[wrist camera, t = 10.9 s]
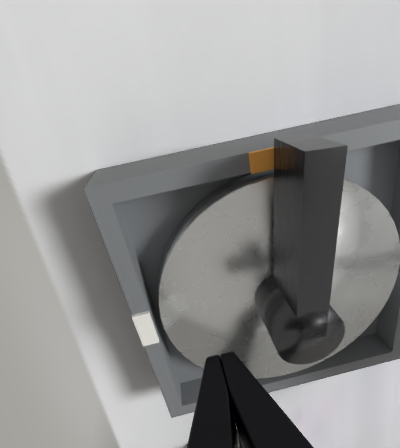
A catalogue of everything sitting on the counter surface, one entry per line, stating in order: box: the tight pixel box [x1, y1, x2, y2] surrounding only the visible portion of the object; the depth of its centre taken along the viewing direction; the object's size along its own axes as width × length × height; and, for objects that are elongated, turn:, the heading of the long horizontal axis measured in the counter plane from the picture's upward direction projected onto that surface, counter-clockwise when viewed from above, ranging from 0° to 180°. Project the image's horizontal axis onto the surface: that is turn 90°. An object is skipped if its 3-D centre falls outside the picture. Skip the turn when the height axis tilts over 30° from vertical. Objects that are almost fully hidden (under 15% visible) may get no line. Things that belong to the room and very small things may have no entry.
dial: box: [158, 133, 400, 379], centre depth 16 cm, size 17×15×5 cm
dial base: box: [84, 104, 400, 418], centre depth 19 cm, size 18×18×4 cm
